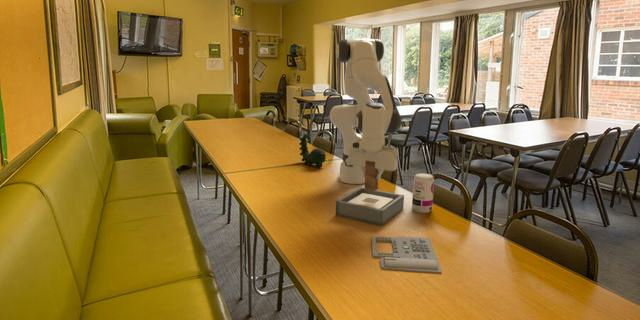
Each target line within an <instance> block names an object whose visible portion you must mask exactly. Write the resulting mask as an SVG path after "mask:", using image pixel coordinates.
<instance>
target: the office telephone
mask: <svg viewBox="0 0 640 320" xmlns="http://www.w3.org/2000/svg"><path fill="white" fill-rule="evenodd" d="M377 242H381V243H382V242H383V243H391V244H392V248H393V249H392V250H393V252H379V251H377ZM371 248H372V249H371V250H372V251H371V253H372V257H373V258H374V259H375V258H376V259H378V258H380V261H379V262H380V269H382V270H386V271H387V270H388V271H389V270H390V271H403V272H412V273H413V272H416V273H430V274H442V273H443V271H442V268H441V265H440V262H439V260H438V257H437V254H436V252H435V249H434V247H433V244H432V240H431V238H430V237H421V236H419V237H417V236H396V237H393V236H391V237H390V236H377V235H376V236H375V235H372V237H371Z"/></svg>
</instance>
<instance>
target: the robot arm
mask: <svg viewBox="0 0 640 320" xmlns="http://www.w3.org/2000/svg"><path fill="white" fill-rule="evenodd" d="M335 48H336V49H335V55H336V58H337V61H339V62H340V63H342V64H343V63H344V64H345V72H344V74H345V75H344V76H345V77H344V78H345V79H344V92H345V94H346V95H347V96H348V97H349V98H351V99H354V100H355V101H356V102H357V104H340V105H335V106H333V107H332V108H331V109H330V111H329V120H330V122H331V124H332V125H334V126H335V127H336V128H337V129H338V131H339V133H340V135H341V137H342V141H343V142H342V143H343V152H342V157H341V159H342V161H341V162H340V166H339V173H338V174H339V175H337V179H339V181H340V182H341V183H344V184H350V185H351V184H353V185H357V184H358V185H359V184H360V185H361V184H365V164H366V161H372V162H375V169H378V172H379V174H377V175H376V178H375V179H376V180H378V181H380V180H381V177H382V175H383V172H384V171H389V172H394V171H396V170H397V169H398V166H399V165H398V157H399V154H398V153H399V151H398V149H397V148H396V147H394V146H387V145H385V143H386V141H385V139H386V137H385V134H388V135H393V134H395V133H396V132H398V131H399V130H400V129H401V126H402V118H401V114H400V112H399V109H398V108H397V104H396V100H395V98H394V94H393V91H392V87H391V85H390V81H389V79H388V76H386V75H385V74H384V73H382V71H381V70H380V67H379V64H378V63H379V62H381V61H382V59H383V57H384V55H385V45H384V42H383V41H382V40H380V39H378V38H363V37H362V38H351V39H347V38H344V39H341V40H339V41H338V42H337V45H336V47H335ZM369 89H371V90H373V91H376V92H377V93H378V94H379V95H380V96H381V99H382V103H381V102H375V101H372V100H371V98H370V95H369V94H370V93H369ZM354 128H356V129H357V131H359V132H360V133H362V135H361V134H360V133H358V132H356V130H355V129H354Z"/></svg>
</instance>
